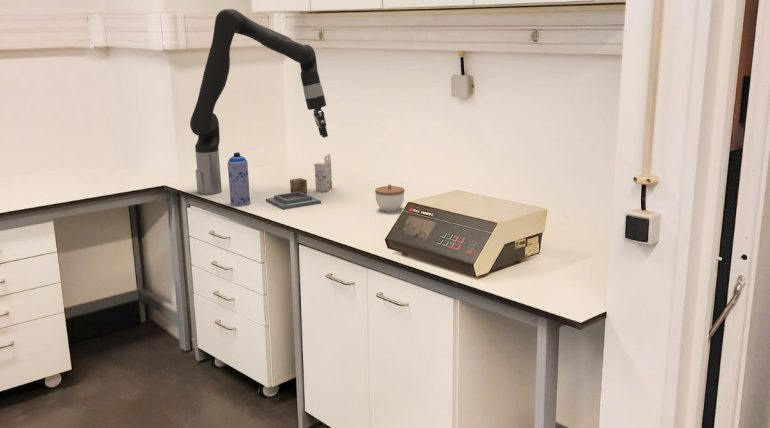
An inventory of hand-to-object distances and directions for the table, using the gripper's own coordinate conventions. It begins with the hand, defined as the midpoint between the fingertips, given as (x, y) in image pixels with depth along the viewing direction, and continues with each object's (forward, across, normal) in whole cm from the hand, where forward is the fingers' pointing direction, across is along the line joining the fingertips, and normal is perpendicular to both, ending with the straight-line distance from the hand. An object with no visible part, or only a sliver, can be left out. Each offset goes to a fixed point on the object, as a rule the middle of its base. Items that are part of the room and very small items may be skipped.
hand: (324, 136), depth 285 cm
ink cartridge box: (+23, -9, -4) cm, 25 cm away
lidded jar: (+29, +30, +15) cm, 44 cm away
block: (+21, -4, -15) cm, 26 cm away
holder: (+21, +10, -18) cm, 30 cm away
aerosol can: (+17, +7, -38) cm, 43 cm away
